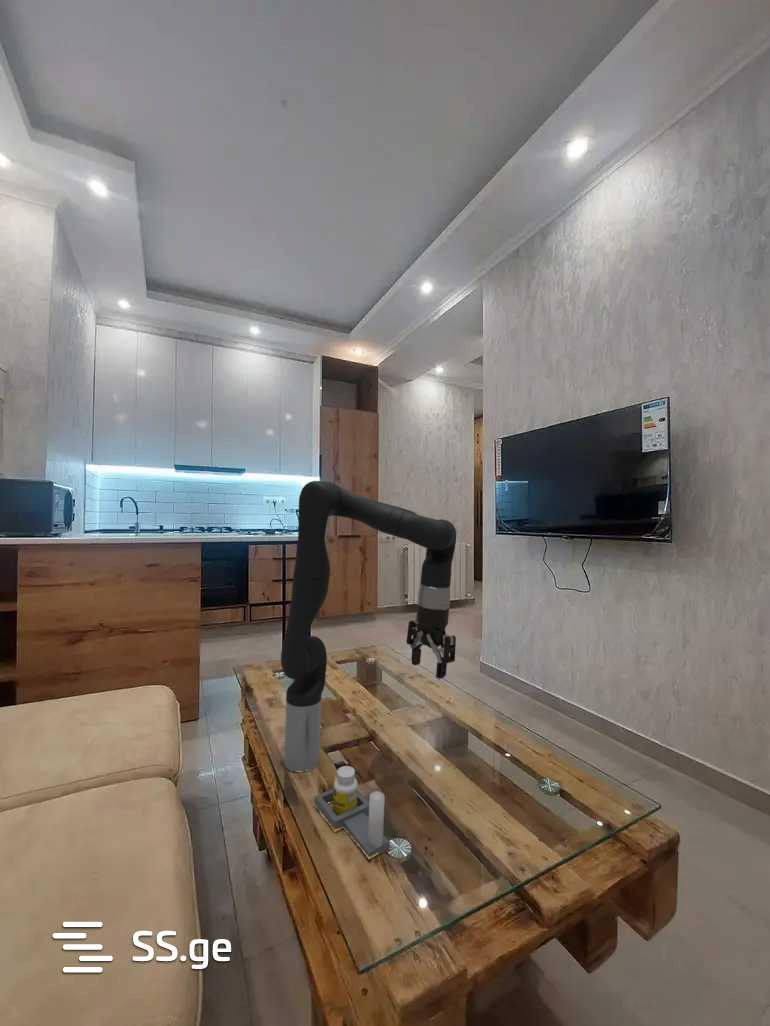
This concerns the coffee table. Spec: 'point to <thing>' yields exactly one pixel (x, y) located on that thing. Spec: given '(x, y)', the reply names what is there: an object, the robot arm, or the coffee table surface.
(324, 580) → the robot arm
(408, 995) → the coffee table surface
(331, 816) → the grey square holder tray
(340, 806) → the supplement bottle
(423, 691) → the coffee table surface
